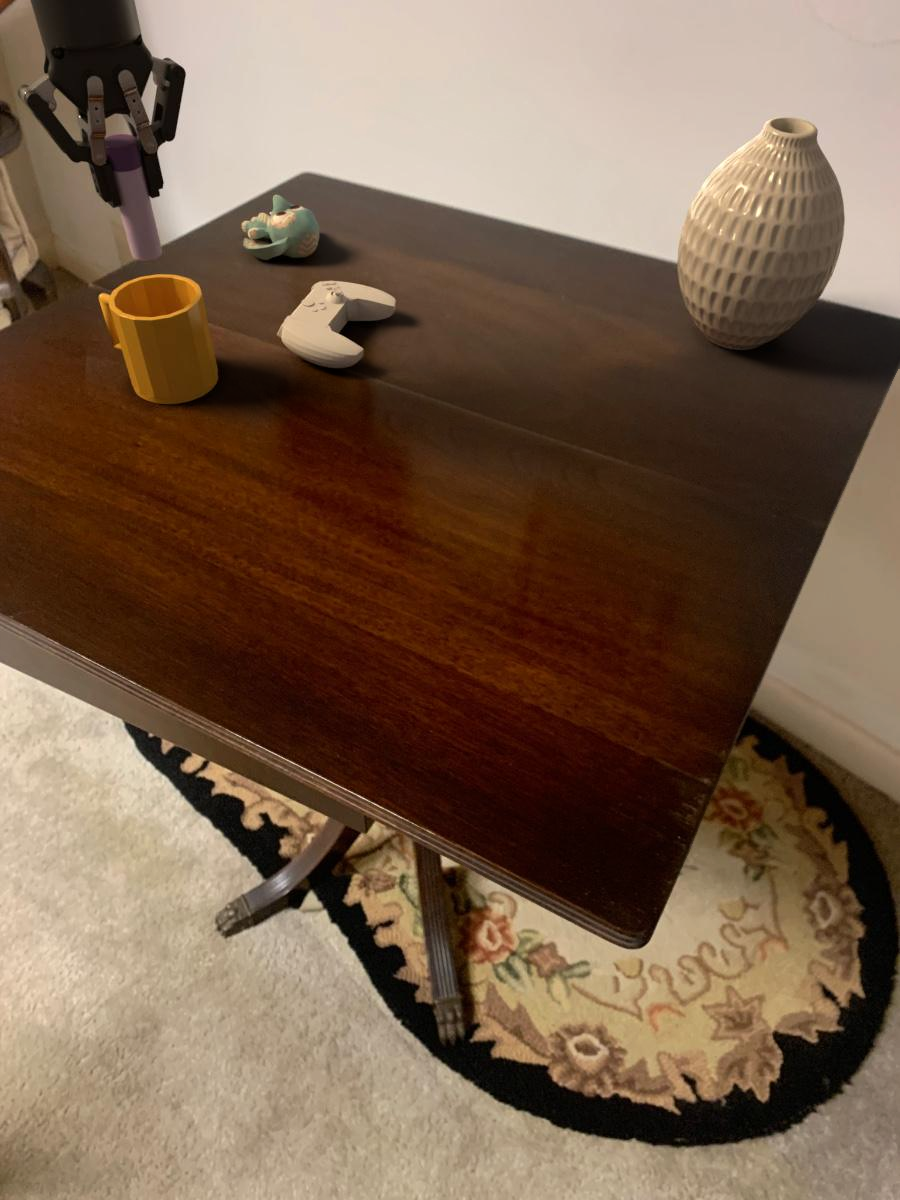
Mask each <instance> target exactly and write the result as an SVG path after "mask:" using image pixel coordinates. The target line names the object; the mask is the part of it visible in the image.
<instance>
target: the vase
mask: <svg viewBox="0 0 900 1200" xmlns="http://www.w3.org/2000/svg"><path fill="white" fill-rule="evenodd" d="M818 133H819V131H818V128H817V127H816V125H814V123H812V122H810V121H809V120H808V121H807V120H805V119H801V118H797V117H787V116H786V117H785V116H784V117H783V116H781V117H774V118H772V119H769V120H767V121H766V122H765V123H764V125H763V127H762V129H761V131H760V132H759V134H758V135H756V136H755V137H754V138H752V139H751V140H750V141H748V142H747V143H745V144H744V145H743V146H741V147H740V148H738V149H737V150H736V151H734V152H733V153H732V154H730V155H729V156H728V157H726V158H725V159H724V160H723V161H722V162H721V163H720V164H719V165H717V167H716V168H715V169H714V170H713V171H712V172H711V173H710V175H709V176H708V177H707V178H706V179H705V181H704V182H703V184H702V185H701V187H700V188H699V190H698V192H696V195H695V196H694V198H693V201H692V202H691V204H690V206H689V209H688V210H687V213H686V216H685V219H684V222H683V225H682V229H681V233H680V237H679V244H678V248H677V262H676V263H677V265H676V269H677V277H678V285H679V291H680V294H681V296H682V300H683V302H684V305H685V307H686V309H687V311H688V313H689V315H690V317H691V320H692V322H693V323H694V324H695V325H696V327H697V328H698V330H699V331H700V332H701V333H702V334H703V336H704V337H705V338H706V339H707V340H708V341H709V342H710V343H712V344H714V345H716V346H718V347H721V348H724V349H728V350H734V351H748V350H753V349H757V348H759V347H761V346H762V345H765V344H767V343H769V342H771V341H773V340H775V339H776V338H778V337H780V336H781V335H783V334H784V333H786V332H787V331H788V330H790V329H791V328H792V327H794V325H796V323H798V322H799V321H801V319H802V318H803V317H804V316H806V315H807V314H808V313H809V311H810V310H811V309H812V308H813V306H814V305H815V304H816V303H817V301H819V299H820V298H821V296H822V295H823V293H824V292H825V289H826V288H827V286H828V284H829V282H830V280H831V278H832V276H833V274H834V271H835V268H836V265H837V263H838V260H839V256H840V254H841V249H842V245H843V240H844V236H845V224H846V223H845V220H846V217H845V203H844V198H843V193H842V188H841V184H840V182H839V180H838V177H837V175H836V173H835V171H834V169H833V168H832V166H831V164H830V162H829V160H828V158H827V156H826V155H825V153H824V152H823V150H822V149H821V146H820V144H819V142H818Z"/></svg>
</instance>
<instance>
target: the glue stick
mask: <svg viewBox="0 0 900 1200" xmlns="http://www.w3.org/2000/svg"><path fill="white" fill-rule="evenodd" d="M105 146H106V157H107V161H108V162H109V163H110V164H111V166H112V170H113V174H114V178H115V182H116V185H117V189H118V193H119V197H120V201H121V206H120V207H118V209H119V213H120V217H121V220H122V225H123V228H124V231H125V236H126V239H127V243H128V244H127V245H128V247H129V251H130V255H131V257H132V258H133V259H134V260H136V261H142V262H146V261H147V262H148V261H152V260H155V259H158V258H159V257H161V256H162V255H163V249H162V244H161V240H160V235H159V232H158V227H157V223H156V219H155V215H154V209H153V207H152V201H151V197H150V196H149V193H148V189H147V184H146V180H145V176H144V172H143V167H142V163H143V162H142V158H141V154H140V149H139V145H138V141H137V138H136V137H134V136H132V135H131V134H126V133H120V134H119V133H118V134H117V133H116V134H111V135H109V136H105Z"/></svg>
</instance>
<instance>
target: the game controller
mask: <svg viewBox="0 0 900 1200" xmlns="http://www.w3.org/2000/svg"><path fill="white" fill-rule="evenodd" d="M396 302H397V300H396V298H395V297H394V296H393V295H391V294H389V293H387V292H386V291H383V290H381V289H379V288H376V287H372V286H368V285H364V284H360V283H355V282H350V281H349V282H348V281H340V280H339V281H338V280H323V281H321V280H320V281H318V282H316V283H313V285H312V286H311V288H310V292H309V293H308V294H307V296H305V298H304V299H302V300H301V302H300V304H298V306H297V307H296V308H295V309H294V310H293V312H292V313H291V314H290V315H287V316H286V318H284V319H283V322H282V324H281V325H280V327H279V330H278V331H277V333H276V335H277V337H279V338H281V342H282V344H283V345H284V347H286V348H287V349H288V350H289V351H290V352H291V353H293V354H294V355H296V356H297V357H299V358H301V359H303V360H304V361H307V362H309V363H311V364H314V365H317V366H320V367H324V368H329V369H330V368H331V369H345V368H350V367H352V366H354V365H355V364H357V363H358V362H359V361H360V360H361V359H362V358H363V357H364V356H365V354H364V351H365V349H364V348H363V347H362V346H360V345H358V344H357V343H356V342H354V341H352V340H350V339H349V338H347V337H346V336H344V335H342V334H340V332H341V330H342V329H343V328H344V327H345V325H347V323H348V322H373V321H380V320H385V319H387V318H390V317H392V316H393V315H394V313H395V311H396V306H397V305H396Z"/></svg>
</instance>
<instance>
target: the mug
mask: <svg viewBox="0 0 900 1200" xmlns="http://www.w3.org/2000/svg"><path fill="white" fill-rule="evenodd" d="M98 302H99V305H100V307H101V311H102V315H103V318H104V321H105V324H106V328H107V332H108V334H109V339H110V341H111V344H112V347H113V348H114V349H116V350H119V351H121V352H122V355H123V358H124V362H125V366H126V369H127V373H128V375H129V380H130V383H131V386H132V388H133V391H134V392H135V394H136V395H137V396H138V397H140V398H141V399H143V400H145V401H147V402H150V403H154V404H160V405H177V404H184V403H187V402H191V401H194V400H196V399H199V398H202V397H204V396H205V395H207V394H208V393H209V392H211V391H212V390H213V389H214V388H215V386H216V385H217V383H218V380H219V368H218V364H217V359H216V355H215V349H214V344H213V340H212V333H211V329H210V324H209V320H208V315H207V310H206V306H205V301H204V295H203V292H202V289H201V286H200V284H198V283H197V282H196V281H194V280H193V279H191V278H190V277H185V276H181V275H179V274H165V273H163V274H161V273H158V274H157V273H156V274H151V275H143V276H139V277H136V278H133V279H130V280H128V281H125V282H123V283H122V284H120V285H119V286H118V287H116V288H115V289H113V290H112V292H111V294H108V293H106V292H102V293H100V294H99V295H98Z"/></svg>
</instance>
